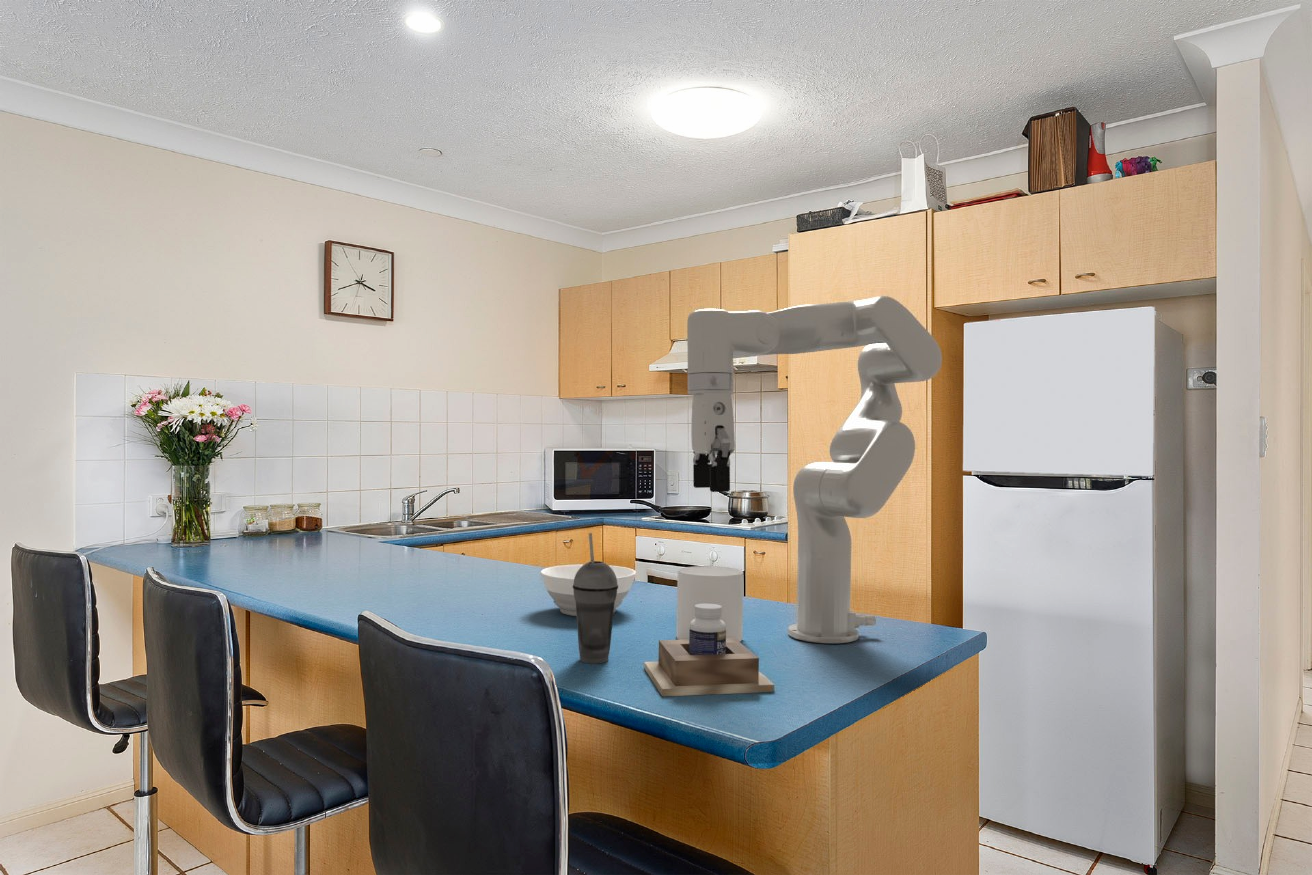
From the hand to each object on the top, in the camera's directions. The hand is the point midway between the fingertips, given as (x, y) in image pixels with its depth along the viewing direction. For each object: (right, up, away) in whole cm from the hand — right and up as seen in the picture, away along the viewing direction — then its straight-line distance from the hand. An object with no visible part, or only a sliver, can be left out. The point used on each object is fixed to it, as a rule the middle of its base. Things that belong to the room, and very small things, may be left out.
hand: (711, 489), depth 135 cm
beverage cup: (-19, -27, -5) cm, 33 cm away
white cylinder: (0, -27, +11) cm, 29 cm away
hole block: (-2, -27, -15) cm, 31 cm away
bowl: (-23, -27, +32) cm, 48 cm away
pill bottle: (-2, -26, -15) cm, 30 cm away
